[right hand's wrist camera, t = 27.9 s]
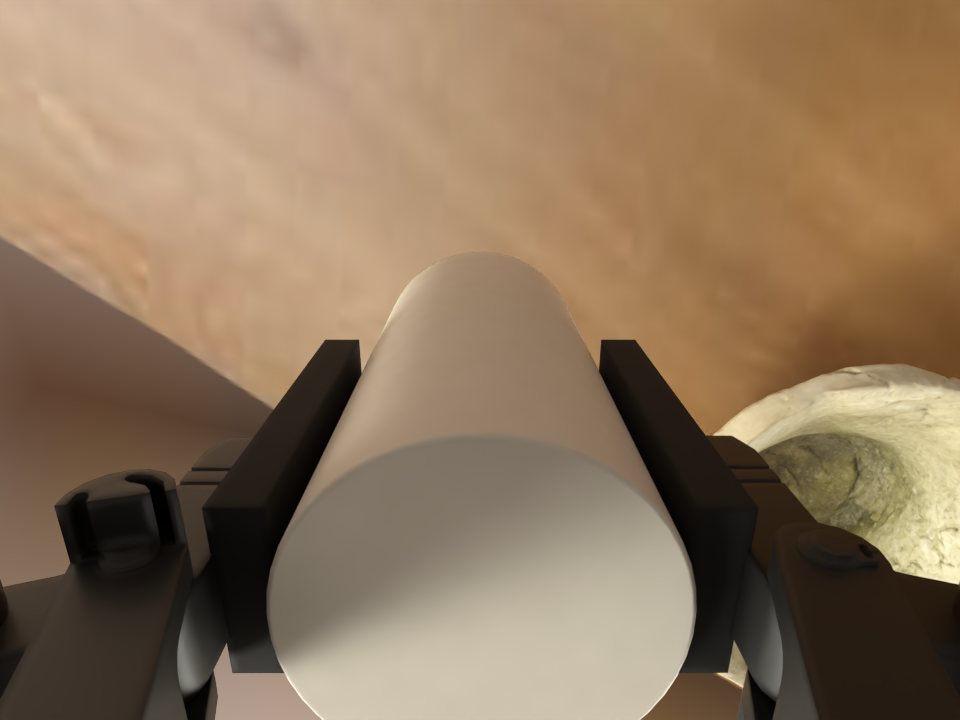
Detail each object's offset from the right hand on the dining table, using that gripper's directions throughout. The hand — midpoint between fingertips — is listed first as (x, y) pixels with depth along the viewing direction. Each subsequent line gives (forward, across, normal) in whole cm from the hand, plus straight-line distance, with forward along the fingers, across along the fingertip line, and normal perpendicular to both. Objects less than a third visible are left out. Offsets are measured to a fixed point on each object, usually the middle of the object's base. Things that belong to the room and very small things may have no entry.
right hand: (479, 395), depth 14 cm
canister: (+4, 0, 0) cm, 4 cm away
